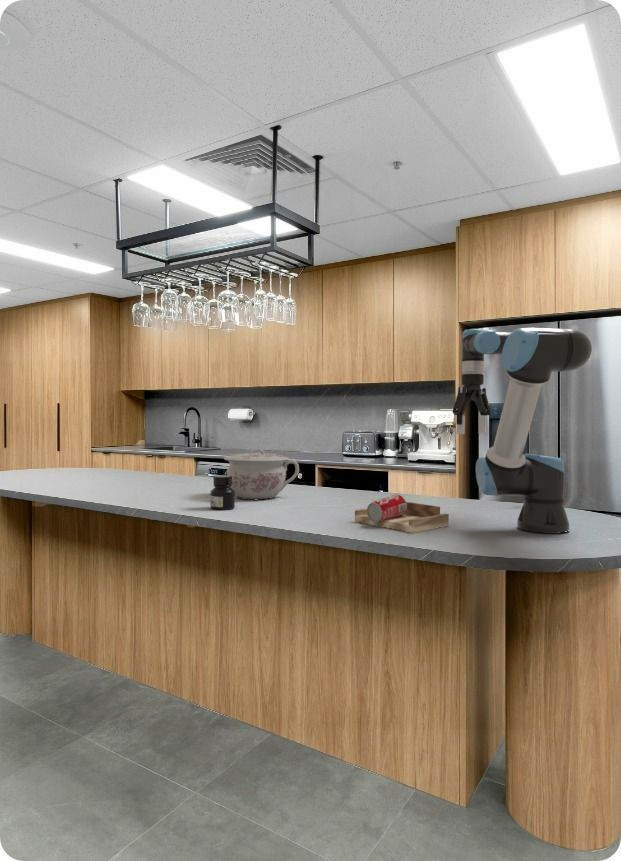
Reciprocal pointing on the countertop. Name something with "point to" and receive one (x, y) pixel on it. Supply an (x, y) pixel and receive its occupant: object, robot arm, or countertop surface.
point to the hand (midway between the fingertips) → (471, 433)
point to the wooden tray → (410, 518)
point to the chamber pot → (259, 474)
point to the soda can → (387, 508)
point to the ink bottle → (222, 493)
